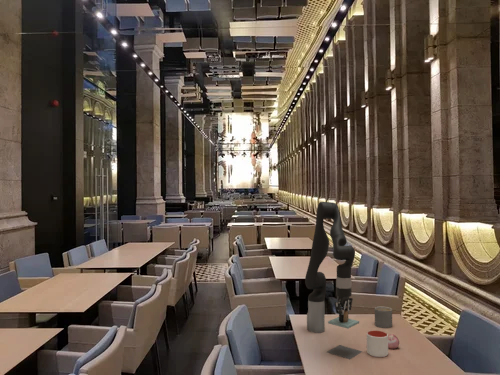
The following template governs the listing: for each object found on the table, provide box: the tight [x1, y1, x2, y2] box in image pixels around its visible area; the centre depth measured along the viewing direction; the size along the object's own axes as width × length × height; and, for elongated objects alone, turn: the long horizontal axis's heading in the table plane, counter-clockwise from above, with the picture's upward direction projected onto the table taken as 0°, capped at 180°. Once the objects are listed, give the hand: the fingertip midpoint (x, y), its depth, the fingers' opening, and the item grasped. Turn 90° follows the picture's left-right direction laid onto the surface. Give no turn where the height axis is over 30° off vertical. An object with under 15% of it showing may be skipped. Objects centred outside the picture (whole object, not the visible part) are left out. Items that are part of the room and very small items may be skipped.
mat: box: [326, 344, 363, 360], centre depth 202 cm, size 13×13×1 cm
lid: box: [327, 309, 360, 330], centre depth 203 cm, size 11×11×6 cm
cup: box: [366, 330, 389, 358], centre depth 200 cm, size 10×10×10 cm
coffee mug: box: [374, 305, 393, 329], centre depth 245 cm, size 13×10×10 cm
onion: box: [387, 333, 400, 350], centre depth 208 cm, size 8×8×7 cm
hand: (343, 320), depth 203 cm, fingers closed on lid, 4 cm apart
